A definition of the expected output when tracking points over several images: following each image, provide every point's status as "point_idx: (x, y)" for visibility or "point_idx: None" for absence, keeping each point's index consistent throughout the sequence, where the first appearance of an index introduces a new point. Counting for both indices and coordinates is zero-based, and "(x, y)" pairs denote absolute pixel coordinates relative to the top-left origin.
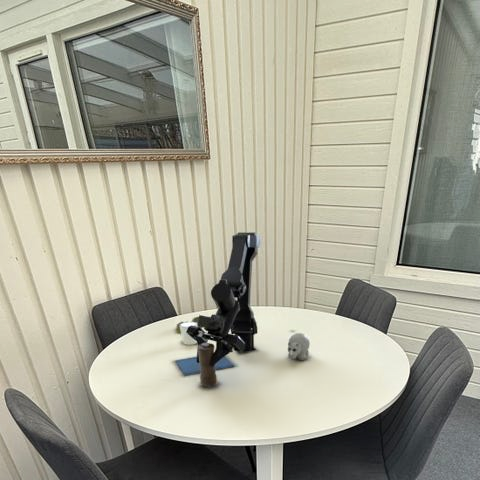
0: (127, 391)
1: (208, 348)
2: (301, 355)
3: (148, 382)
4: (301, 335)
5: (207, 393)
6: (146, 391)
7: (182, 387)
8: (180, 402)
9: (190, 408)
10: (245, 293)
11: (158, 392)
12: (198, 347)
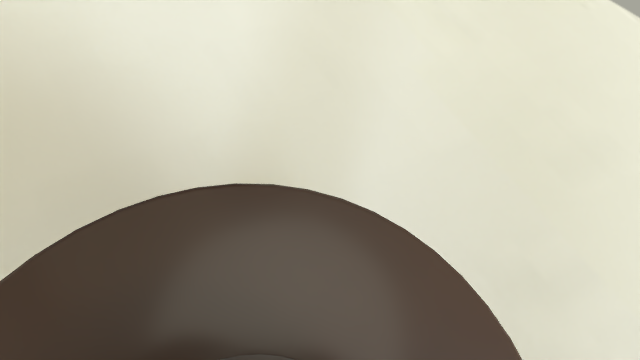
0: (606, 88)
1: (7, 343)
2: None
3: (615, 210)
4: None
5: None
6: (536, 117)
7: None
8: (295, 74)
9: (205, 37)
10: None
11: (477, 129)
12: (416, 271)
